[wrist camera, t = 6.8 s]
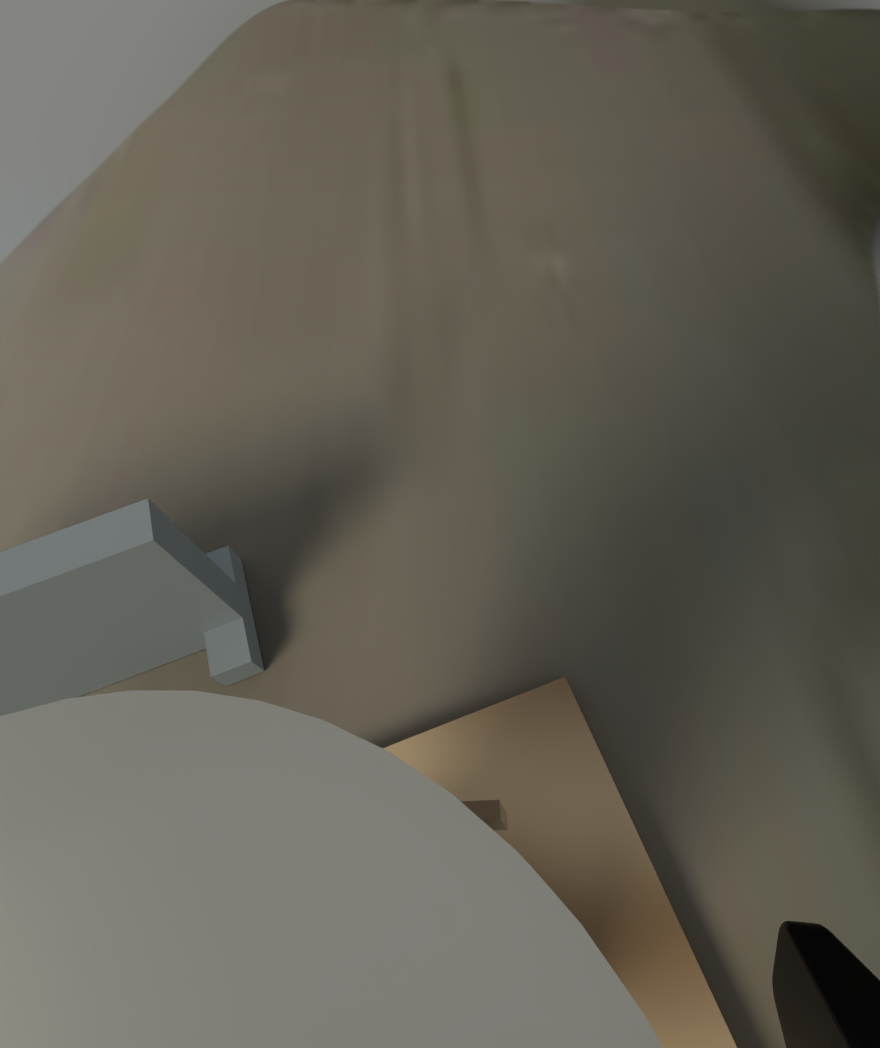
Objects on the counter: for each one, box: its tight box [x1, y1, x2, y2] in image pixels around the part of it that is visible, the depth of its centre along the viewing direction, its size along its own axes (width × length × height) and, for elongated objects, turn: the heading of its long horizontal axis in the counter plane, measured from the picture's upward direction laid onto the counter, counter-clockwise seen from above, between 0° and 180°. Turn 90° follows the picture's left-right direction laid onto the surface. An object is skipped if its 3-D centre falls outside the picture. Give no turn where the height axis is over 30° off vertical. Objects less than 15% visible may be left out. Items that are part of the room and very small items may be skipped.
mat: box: [383, 677, 737, 1048], centre depth 14 cm, size 10×10×1 cm
